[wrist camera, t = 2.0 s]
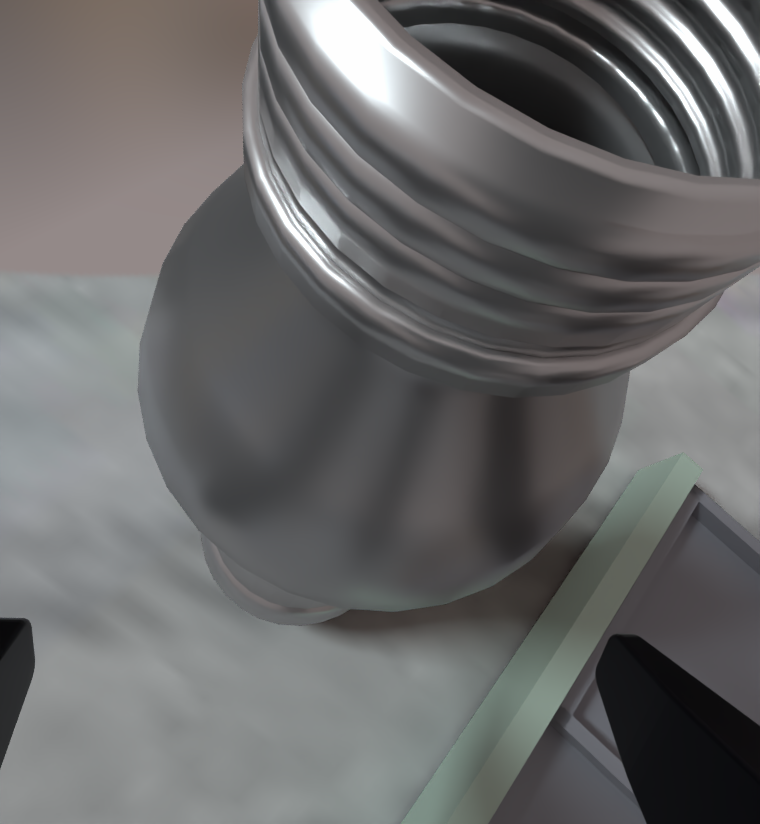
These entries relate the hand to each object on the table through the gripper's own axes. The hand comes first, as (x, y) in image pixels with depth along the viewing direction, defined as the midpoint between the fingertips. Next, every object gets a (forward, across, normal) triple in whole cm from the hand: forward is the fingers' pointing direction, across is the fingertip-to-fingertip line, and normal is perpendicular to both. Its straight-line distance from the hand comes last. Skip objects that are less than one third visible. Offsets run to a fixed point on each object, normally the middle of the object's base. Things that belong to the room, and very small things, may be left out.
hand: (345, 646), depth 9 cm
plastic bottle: (+11, 0, +6) cm, 13 cm away
